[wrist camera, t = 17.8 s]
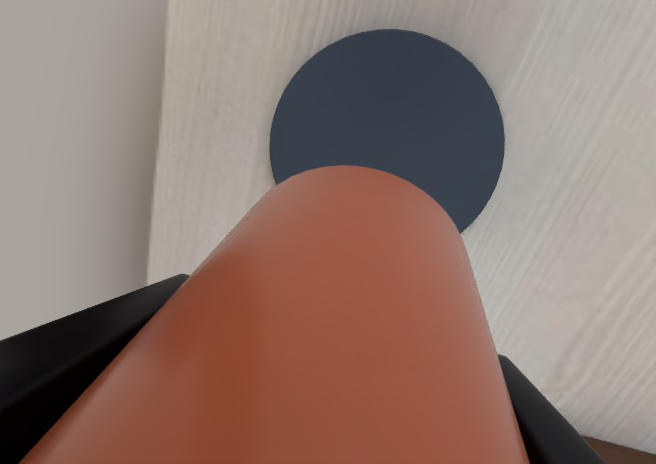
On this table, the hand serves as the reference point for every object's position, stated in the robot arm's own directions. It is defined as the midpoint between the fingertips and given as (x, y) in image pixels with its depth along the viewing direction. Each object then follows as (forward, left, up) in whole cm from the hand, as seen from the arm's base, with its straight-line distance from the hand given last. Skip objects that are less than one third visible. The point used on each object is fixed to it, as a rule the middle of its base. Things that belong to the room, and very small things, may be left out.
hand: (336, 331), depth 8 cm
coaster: (+1, 0, -12) cm, 12 cm away
